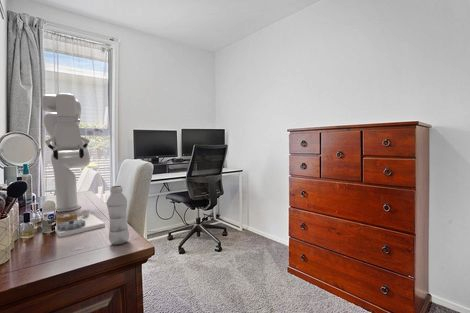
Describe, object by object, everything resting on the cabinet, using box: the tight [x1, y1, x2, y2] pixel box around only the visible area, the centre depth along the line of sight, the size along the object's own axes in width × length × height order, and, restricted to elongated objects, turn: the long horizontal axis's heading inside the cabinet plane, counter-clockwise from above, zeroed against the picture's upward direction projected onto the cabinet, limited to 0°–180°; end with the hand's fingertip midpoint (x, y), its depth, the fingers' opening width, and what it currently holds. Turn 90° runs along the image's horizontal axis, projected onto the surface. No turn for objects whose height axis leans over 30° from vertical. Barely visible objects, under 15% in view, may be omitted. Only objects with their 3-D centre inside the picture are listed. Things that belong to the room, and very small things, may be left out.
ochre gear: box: [55, 212, 78, 225], centre depth 111 cm, size 7×7×3 cm
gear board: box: [54, 209, 106, 238], centre depth 110 cm, size 20×16×4 cm
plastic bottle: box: [106, 185, 130, 245], centre depth 89 cm, size 6×7×20 cm
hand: (69, 158), depth 118 cm, fingers open, 9 cm apart
